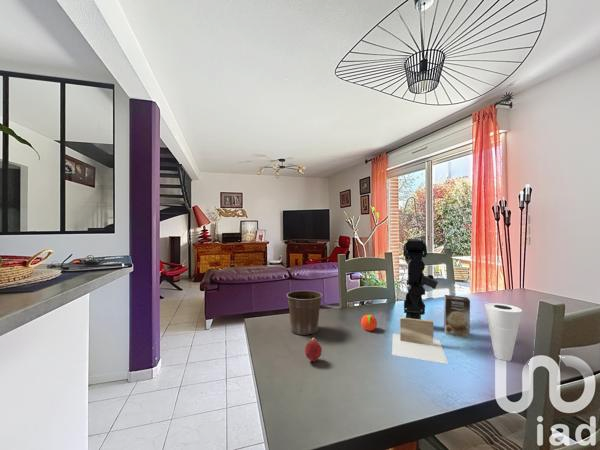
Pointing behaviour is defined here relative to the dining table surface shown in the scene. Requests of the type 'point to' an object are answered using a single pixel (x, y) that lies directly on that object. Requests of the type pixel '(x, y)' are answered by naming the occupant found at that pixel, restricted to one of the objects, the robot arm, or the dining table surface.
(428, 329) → the tile
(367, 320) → the clementine
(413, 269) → the robot arm
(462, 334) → the coffee box
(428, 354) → the mat
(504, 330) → the cup
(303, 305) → the plant pot
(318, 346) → the onion
